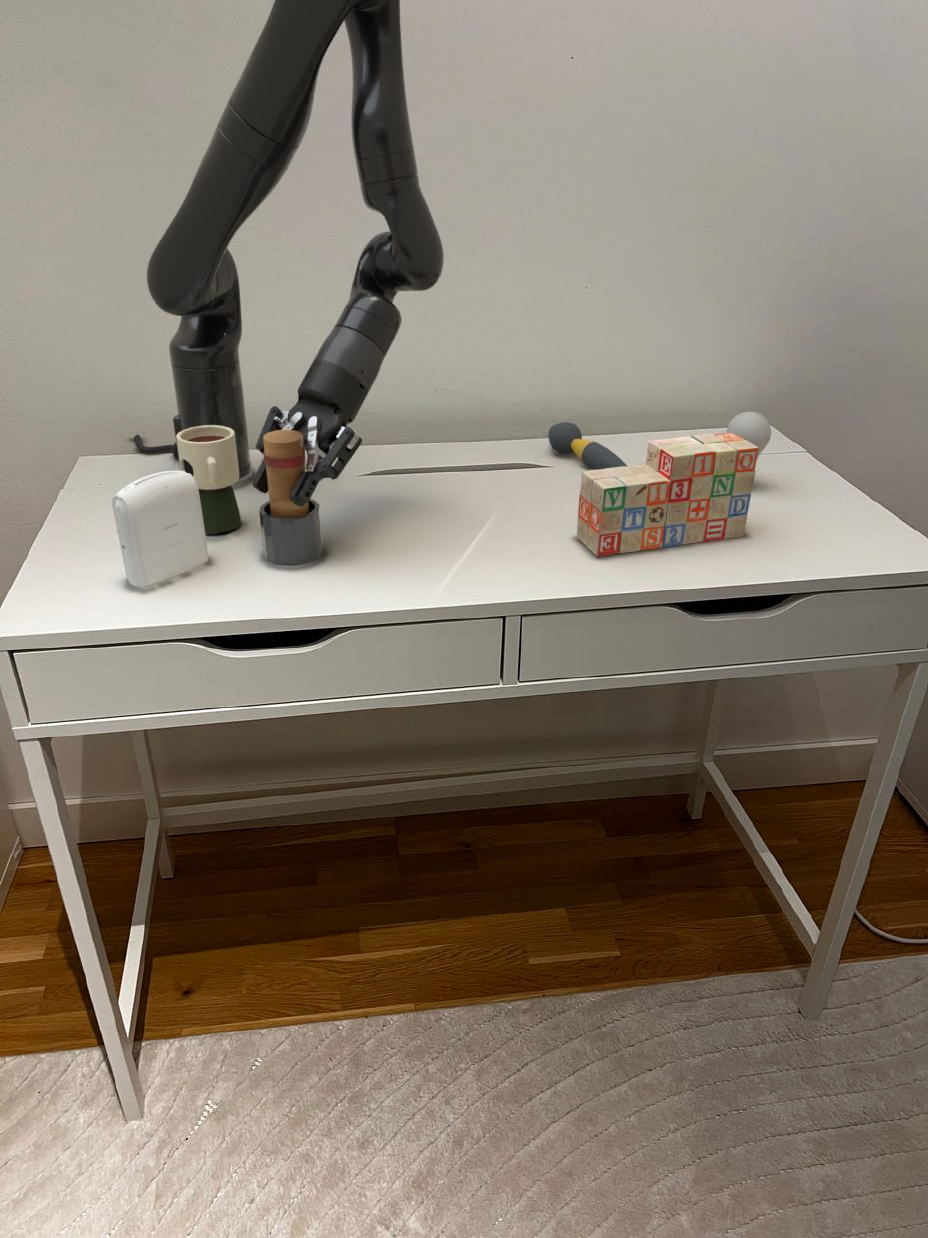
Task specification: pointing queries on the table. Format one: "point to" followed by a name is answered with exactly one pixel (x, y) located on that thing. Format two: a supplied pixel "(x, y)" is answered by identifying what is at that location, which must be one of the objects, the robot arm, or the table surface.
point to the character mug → (212, 473)
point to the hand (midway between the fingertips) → (277, 496)
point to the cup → (291, 536)
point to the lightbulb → (751, 429)
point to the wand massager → (581, 447)
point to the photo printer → (160, 527)
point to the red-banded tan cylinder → (284, 471)
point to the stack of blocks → (669, 495)
